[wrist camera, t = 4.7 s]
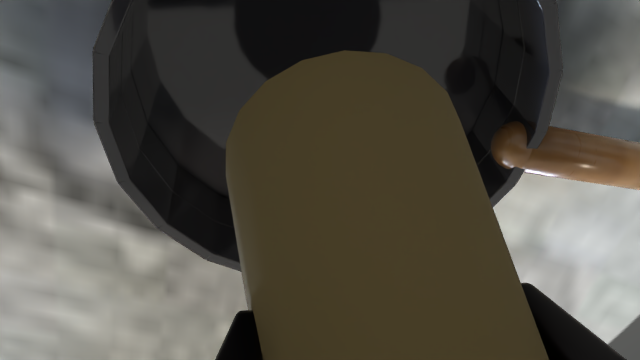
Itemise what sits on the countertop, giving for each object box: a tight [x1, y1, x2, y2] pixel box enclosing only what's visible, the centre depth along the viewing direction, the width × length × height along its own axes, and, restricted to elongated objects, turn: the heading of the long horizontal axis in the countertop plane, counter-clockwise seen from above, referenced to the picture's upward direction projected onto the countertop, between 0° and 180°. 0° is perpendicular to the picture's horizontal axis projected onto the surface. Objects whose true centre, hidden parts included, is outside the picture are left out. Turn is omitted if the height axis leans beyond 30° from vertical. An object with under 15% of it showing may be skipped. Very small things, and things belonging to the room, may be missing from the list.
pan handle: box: [491, 121, 640, 190], centre depth 17 cm, size 9×2×2 cm, turn 75°
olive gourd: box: [226, 50, 549, 360], centre depth 8 cm, size 6×6×11 cm
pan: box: [93, 0, 563, 272], centre depth 16 cm, size 13×13×4 cm
